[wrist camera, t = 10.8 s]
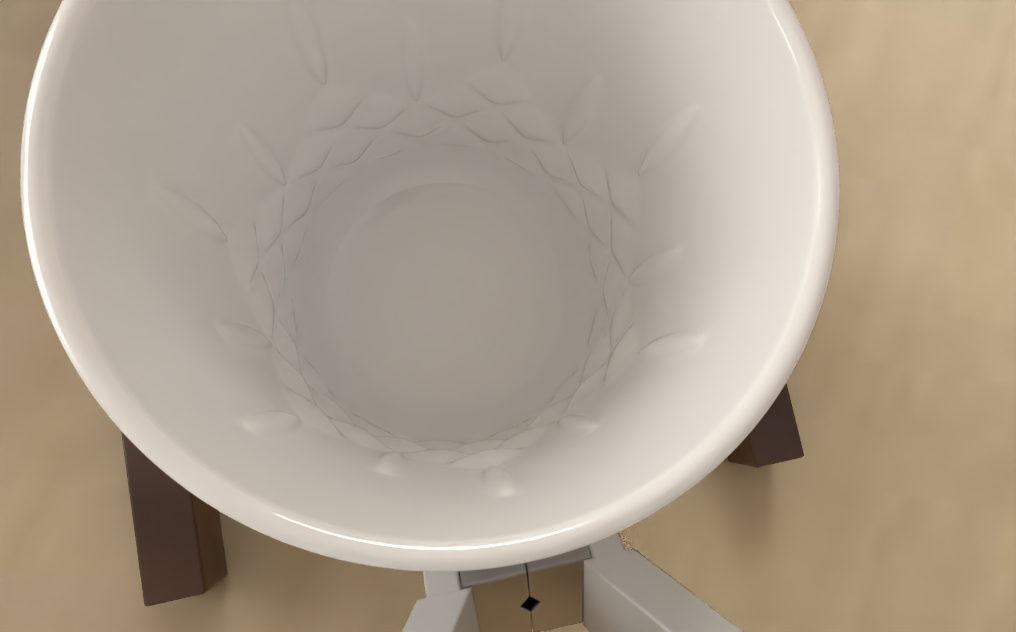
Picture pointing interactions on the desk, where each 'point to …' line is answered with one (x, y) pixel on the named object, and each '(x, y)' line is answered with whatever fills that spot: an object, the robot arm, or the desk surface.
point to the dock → (196, 527)
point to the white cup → (431, 254)
